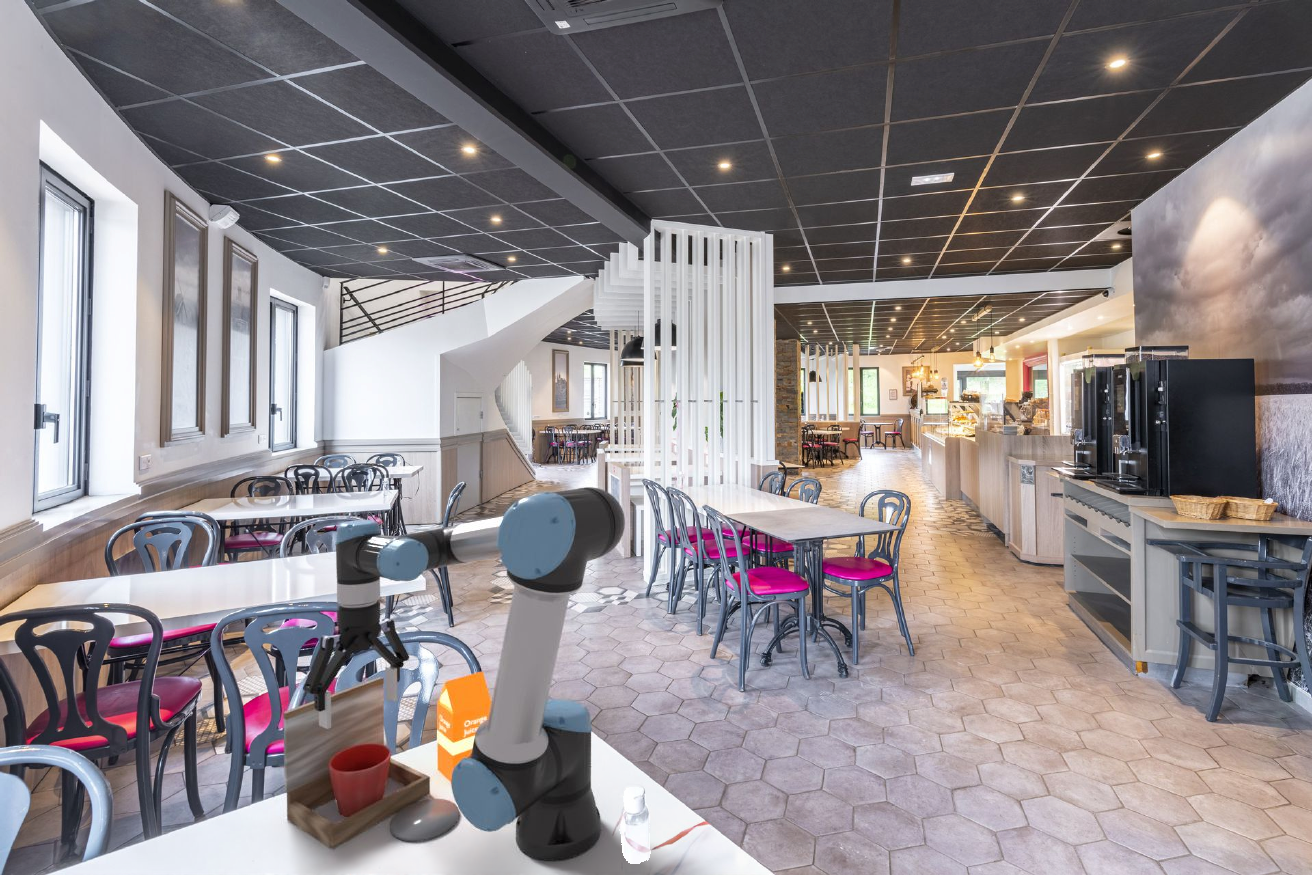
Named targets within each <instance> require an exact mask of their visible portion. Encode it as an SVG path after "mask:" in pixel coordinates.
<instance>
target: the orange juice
mask: <svg viewBox="0 0 1312 875" xmlns="http://www.w3.org/2000/svg"><path fill="white" fill-rule="evenodd" d="M486 681H487V680H486V678H485V675H484V671H478V672H475V673H471V674H468V675H464V676H461V677H457V678H454V679H451V680H447V681H445V682H444V683H443V687H442V689H441V692H440V695H439V698H438V699H437V702H436V708H437V709H436V710H437V711H436V718H437V719H436V720H437V722H436V724H437V726H436V728H437V729H436V742H437V744H436V747H437V748H436V749H437V751H436V752H437V771H438V772H439V773H440V774H442V776H443V777H445V778H446V779H447V780H448V781H449V782H450V783H451V777H452V772H453V769H454V767H455V766H456V765H457V764H458V763H459V762H460V760H461V759H463V758H465V757H469V756H470V754H471V752H472V748H473V743H474V738H475V733H476V730H477V728H478V727H479V725H480V724H481V723H482V722H484V721H485V720H487V719H488V717H489V712H490V707H491V702H492V698H491V696H490V693H489V688H488V685H487V682H486Z"/></svg>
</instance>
